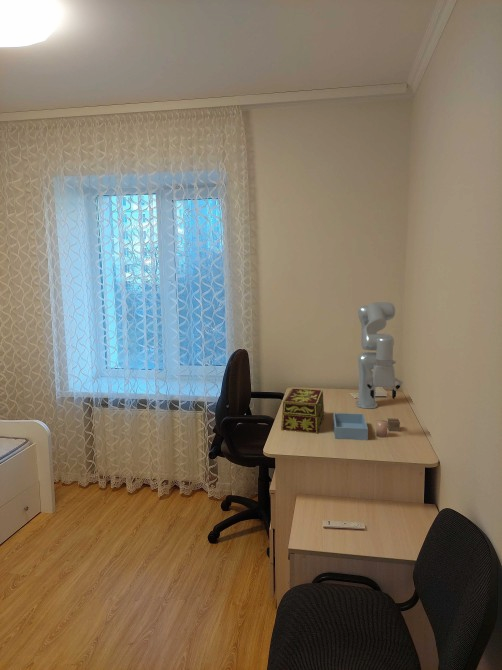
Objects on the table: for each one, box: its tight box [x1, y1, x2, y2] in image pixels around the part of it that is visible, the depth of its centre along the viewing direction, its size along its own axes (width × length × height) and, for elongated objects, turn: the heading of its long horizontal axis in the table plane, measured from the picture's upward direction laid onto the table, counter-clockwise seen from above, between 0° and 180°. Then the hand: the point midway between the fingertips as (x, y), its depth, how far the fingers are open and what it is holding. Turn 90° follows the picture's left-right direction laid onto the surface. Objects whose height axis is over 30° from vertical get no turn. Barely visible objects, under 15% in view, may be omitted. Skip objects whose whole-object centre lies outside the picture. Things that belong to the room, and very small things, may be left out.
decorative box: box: [280, 387, 325, 435], centre depth 239 cm, size 28×19×15 cm
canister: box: [375, 419, 388, 438], centre depth 221 cm, size 5×5×7 cm
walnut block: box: [387, 418, 401, 433], centre depth 229 cm, size 5×5×5 cm
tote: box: [332, 412, 369, 441], centre depth 227 cm, size 21×15×6 cm
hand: (382, 398), depth 218 cm, fingers open, 9 cm apart
